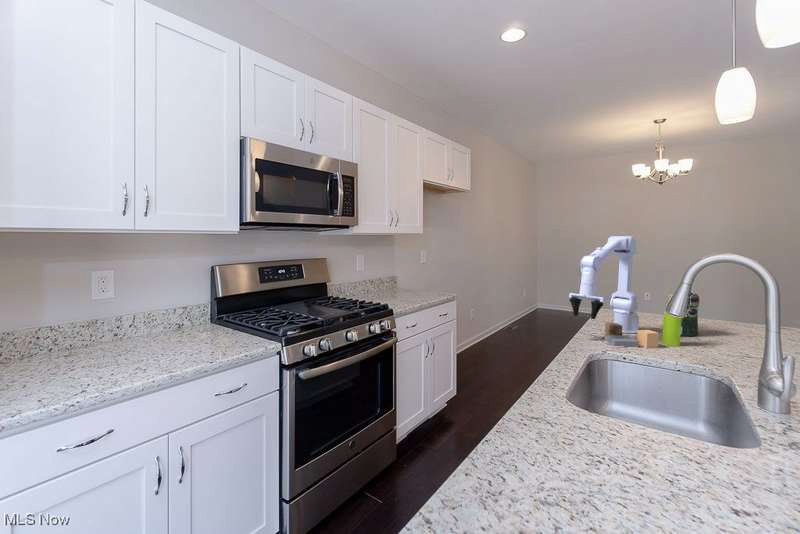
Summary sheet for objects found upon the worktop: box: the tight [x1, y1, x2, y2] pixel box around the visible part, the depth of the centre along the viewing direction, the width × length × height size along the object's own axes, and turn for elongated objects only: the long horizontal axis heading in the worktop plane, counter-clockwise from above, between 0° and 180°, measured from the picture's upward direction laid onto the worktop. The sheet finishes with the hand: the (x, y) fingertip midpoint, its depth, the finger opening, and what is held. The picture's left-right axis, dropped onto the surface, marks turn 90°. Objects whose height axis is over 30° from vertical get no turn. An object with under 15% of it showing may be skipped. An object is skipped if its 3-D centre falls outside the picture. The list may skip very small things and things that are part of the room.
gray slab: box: [604, 334, 640, 348], centre depth 156 cm, size 9×9×3 cm
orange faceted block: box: [636, 329, 660, 349], centre depth 153 cm, size 5×5×6 cm
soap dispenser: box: [661, 294, 681, 347], centre depth 155 cm, size 6×7×20 cm
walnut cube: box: [604, 322, 623, 336], centre depth 166 cm, size 5×5×6 cm
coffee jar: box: [680, 293, 700, 337], centre depth 169 cm, size 10×8×19 cm
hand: (584, 317), depth 159 cm, fingers open, 7 cm apart
